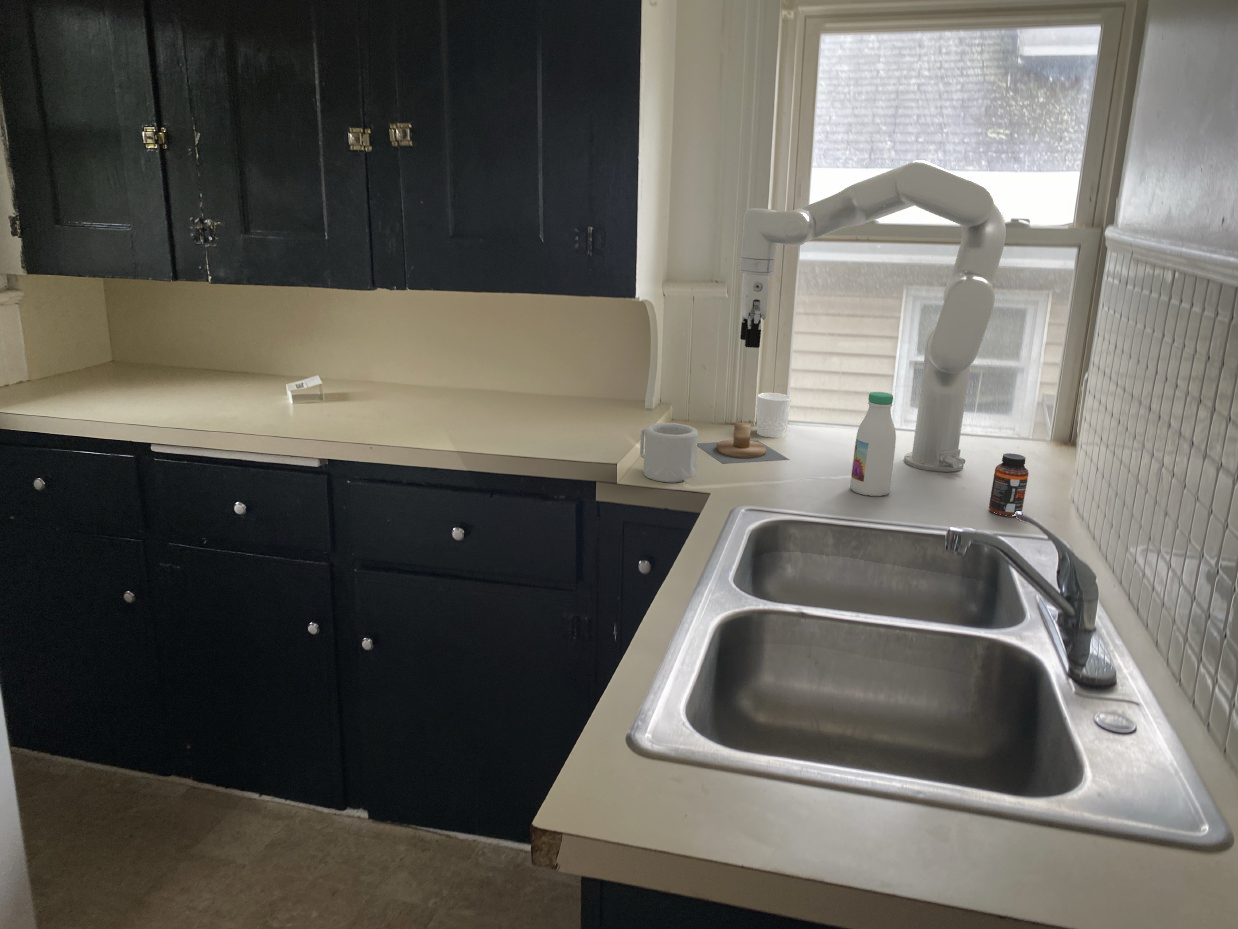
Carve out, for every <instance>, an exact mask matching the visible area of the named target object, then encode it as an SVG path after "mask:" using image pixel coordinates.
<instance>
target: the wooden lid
mask: <svg viewBox="0 0 1238 929" xmlns="http://www.w3.org/2000/svg"><path fill="white" fill-rule="evenodd" d="M751 427H752V424H751V423H749V422H735V423H734V429H733V439H725V440H721V441H719V442H718V443H717V445H716V451H717V452H718V453H720V454H722V455H725V456H729V457H734V458H758V457H762V456H764V455H765V454H766V447H765V446H764V445H763V444H764V443H763V444H760V443H758V442H754V441H753V440H751V429H752V428H751Z"/></svg>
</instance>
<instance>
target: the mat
mask: <svg viewBox="0 0 1238 929" xmlns="http://www.w3.org/2000/svg"><path fill="white" fill-rule="evenodd" d="M752 441H754V442H758V443H760V444H763V445H764V446H765V447H766V454H765V455H764V456H762V457H758V458H734V457H729V456H725V455H722V454H720V453H718V452H717V451H716V445H717V443H718V442H717V441H715V442H699V443H698V442H697V448H700V449H701V451H704V452H705V453H706V454H708V455H709V456H711V457H712V458H714V459H715V460H717V461H718V462H719V463H721V464H722V465H724V464H741V463H758V462H759V463H760V462H774V461H776V462H777V461H790V460H791V459H790V458H788V457H786V456H784V455H783V454H781V453H779V452H778V451H776V450H774V449H773V448H771V447H769V446H768V445H766V444H765V443H763V442H761V441H759V440H757V439H756V440H752Z"/></svg>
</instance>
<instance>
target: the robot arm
mask: <svg viewBox="0 0 1238 929" xmlns="http://www.w3.org/2000/svg"><path fill="white" fill-rule="evenodd" d="M914 206H915V207H917V208H919V209H922V210H923V211H926V212H928V213H931V214H933V215H936V216H939V217H940V218H943V219H945V220H948V221H951V222H952V223H956V224H957V225H959V226H960V229H961V241H960V245H959V248H958V252H957V254H956V257H955V258H956V259H955V262H954V265H953V268H952V271H951V274H950V277H949V279H948V281H947V283H946V286H945V288H944V290H943V303H942V308H941V310H940V314H939V316H938V320H937V323H936V325H935V326H934V327H933V328H932V329H931V330H930V332H929V333H928V336H927V338H926V341H925V348H924V358H923V369H922V377H921V385H920V392H919V400H918V406H917V407H918V408H917V414H916V421H915V430H914V437H913V444H912V445H913V446H912V451H911V452H908V453H906V454H904V458H903V461H904V463H906V464H907V465H909V466H911V467H914V468H916V469H920V470H924V471H929V472H931V471H932V472H938V473H940V472H942V473H950V472H951V473H952V472H959V471H961V470H962V469H963V468H964V465H965V464H966V459H965V458H963V457H961V449H959V446H960V441H961V434H962V433H961V432H962V428H963V426H962V425H963V419H964V413H965V406H966V399H967V394H968V386H969V379H970V370H971V365H972V364H973V363H974V361H975V360H976V358H977V357H978V353H979V351H980V348H981V345H982V342H983V340H984V337H985V333H986V330H987V329H988V325H989V322H990V320H991V316H992V313H993V311H994V310H993V309H994V305H995V299H996V298H995V297H996V296H995V290H994V288H993V284H994V282H995V278H996V275H997V272H998V270H999V264H1000V261H1001V258H1002V255H1003V251H1004V247H1005V243H1006V238H1007V229H1006V220H1005V217H1004V214H1003V211H1002V209H1001V207H1000V205H999V203H998V202H997V201H996V200H995V198H994V196H993V193H992V191H991V190H990V189H989V188H988V187H987V185H985V184H982V183H981V182H977V181H975V180H972V179H970V178H968V177H965V176H962V175H960V174H957V173H955V172H951V171H949V170H946V169H945V168H942V167H940V166H937V165H936V164H933V163H931V162H929V161H926V160H921V159H919V160H918V159H917V160H914V161H910V162H909V163H906V164H904V165H901V166H899V167H896V168H894V169H890V170H888V171H885V172H883V173H880V174H878V175H875V176H872V177H870V178H867V179H864V180H861V181H859V182H856V183H854V184H851V185H849V186H847V187H845V188H844V189H842V190H841V191H839V192H837V193H835V194H833V195H830V196H828V197H825V198H823V199H821V200H819V201H818V200H817V201H815V202H812V203H809V204H807V205H805V206H801V207H799V208H796V209H793V210H784V211H782V210H780V211H777V210H776V209H769V208H757V207H756V208H755V207H752V208H747V210H746V211H745V212H744V217H743V224H742V225H743V226H742V228H743V229H742V238H741V239H742V240H741V247H740V248H741V251H740V259H739V273H740V274H744V275H743V282H742V283H743V284H742V292H741V293H742V294H741V314H742V321H741V326H740V337H739V338H740V340H741V341H744V347H746V348H752V349H753V348H755V349H759V348H760V345H761V336H762V320H763V321H766V320H767V319H768V310H769V292H770V276H773V275H774V271H775V261H776V254H777V253H776V252H777V244H779V245H783V246H784V245H785V246H788V247H799V246H802V245H804V244H805V243H808V242H809V241H812V240H814V239H817V238H820V237H823V236H826V235H828V234H831V233H834V232H836V231H840V230H842V229H845V228H849V227H856V226H862V225H865V224H868V223H871V222H873V221H875V220H878V219H880V218H885V217H887V216H889V215H892V214H894V213H897V212H900V211H904V210H906V209H908V208H911V207H914Z"/></svg>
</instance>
